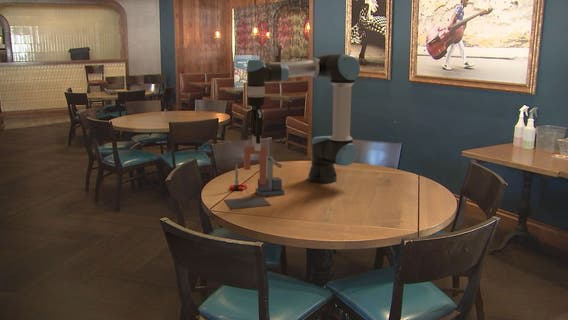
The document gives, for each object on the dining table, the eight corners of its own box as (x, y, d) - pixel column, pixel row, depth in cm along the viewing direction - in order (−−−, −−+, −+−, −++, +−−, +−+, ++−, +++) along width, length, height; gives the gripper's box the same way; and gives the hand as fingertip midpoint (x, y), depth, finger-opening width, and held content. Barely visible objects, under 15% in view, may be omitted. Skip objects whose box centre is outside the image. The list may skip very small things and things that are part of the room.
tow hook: (232, 186, 248) (227, 190, 239) (232, 161, 246) (227, 164, 237) (248, 187, 247) (244, 191, 238) (248, 161, 245) (244, 165, 236)
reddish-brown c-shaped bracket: (264, 182, 221) (264, 145, 217) (266, 183, 219) (266, 146, 215) (244, 184, 218) (243, 146, 214) (245, 185, 216) (244, 147, 212)
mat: (262, 196, 228) (262, 196, 228) (270, 205, 215) (270, 204, 215) (224, 200, 223) (224, 199, 223) (230, 209, 210) (230, 208, 210)
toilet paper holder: (279, 190, 239) (279, 154, 235) (292, 201, 221) (292, 163, 217) (255, 192, 236) (254, 156, 232) (267, 204, 217) (266, 165, 213)
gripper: (243, 95, 216) (244, 147, 221) (252, 98, 202) (252, 153, 207) (259, 94, 219) (260, 146, 224) (269, 97, 204) (269, 152, 209)
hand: (256, 149), depth 215 cm, fingers closed on reddish-brown c-shaped bracket, 2 cm apart
